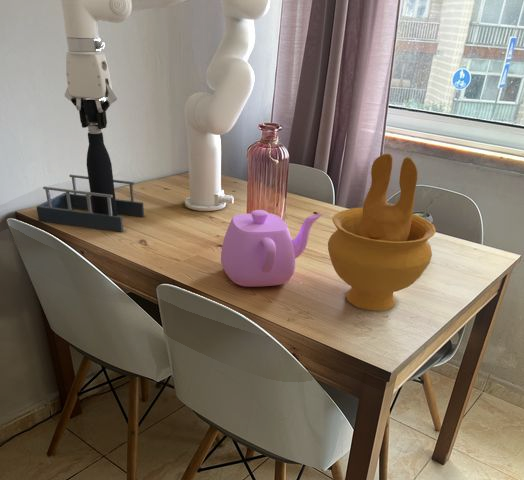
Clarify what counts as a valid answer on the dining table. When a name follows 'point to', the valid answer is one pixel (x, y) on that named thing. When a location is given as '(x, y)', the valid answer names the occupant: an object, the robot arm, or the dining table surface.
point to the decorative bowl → (381, 240)
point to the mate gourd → (425, 214)
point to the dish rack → (87, 208)
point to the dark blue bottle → (98, 163)
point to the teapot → (262, 248)
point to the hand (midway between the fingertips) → (94, 126)
